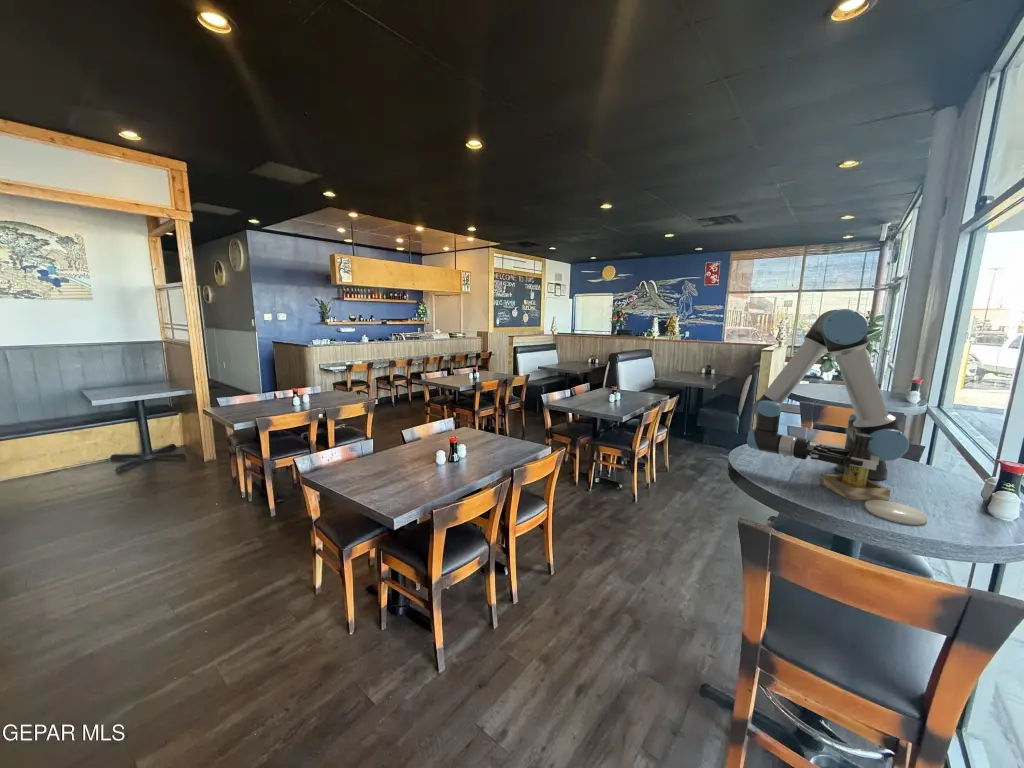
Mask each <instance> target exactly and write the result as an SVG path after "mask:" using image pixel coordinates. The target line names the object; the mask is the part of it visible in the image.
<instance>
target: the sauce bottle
mask: <svg viewBox="0 0 1024 768" xmlns="http://www.w3.org/2000/svg"><path fill="white" fill-rule="evenodd" d="M870 440H871V436H870V435H867V434H862V433H856V434H855V443H854V446H853V447H852V449H851V450H850V452H849V454H848V455H847V457H850V458H851V457H855V458H860V459H865V460H871V454H870V453H869V450H868V448H869V447H868V446H869V441H870ZM868 471H869V469H867V468H862V467H857V466H852V465H850V466H849V467H846V466H845V468H844V473H842V475H843V479H842V483H843V484H845V485H847V486H849V487H851V488H865V486H866V481H867V476H868Z"/></svg>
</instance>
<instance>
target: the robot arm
mask: <svg viewBox="0 0 1024 768" xmlns="http://www.w3.org/2000/svg"><path fill="white" fill-rule="evenodd" d="M868 328H869V324H868V321H867V319H866V317H865V316H864V315H863V314H862V313H861V312H858V311H857V310H854V309H851V308H850V309H848V308H841V309H832V310H828V311H825V312H824V313H822V314H820V316H818V318H817V319H816V320H815V321H814V323H813V324H812V326H811V327H810V329H809V330H808V331H807V333H806V334H805V336H803V343H802V344H801V345H800V347H799V348H798V349H797V350H796V352H795V353H794V354H793V356H792V357H791V358H790V359H789V360H788V362H787V363H786V365H785V366H784V367H783V368H782V370H781V371H780V372H779V374H778V375H777V376H776V378H775V379H774V380H773V381H772V383H771V384H770V385H769V387H768V388H766V390H765V391H764V393H763V395H762V396H761V397H760V398H759V399H757V400H756V401H754V403H753V406H752V411H753V414H754V415H755V417H756V418H755V419H756V422H755V428H754V429H750V430H749V431H748V433H747V438H746V443H747V446H748V447H749V448H750V449H754V450H756V451H760V452H767V453H771V454H772V453H773V454H777V455H782V456H783V457H790V458H792V457H794V458H795V459H800V460H806V459H808V457H810V459H811V460H815V461H822V462H825V463H830V464H835V469H836V470H838V471H839V472H840V473H842V474H844V468H845V466H846V467H849V466H850V465H852V466H857V467H862V468H867V469H869V471H868V476H867V479H868V480H871V481H874V480H876V481H879V480H880V481H881V480H886V479H887V478H888V475H889V471H888V468H887V463H886V462H889V461H896V460H899V459H900V458H902V457H903V456H904V455H905V454H906V453H907V452H908V450H909V448H910V442H909V439H908V438H907V436H906V434H904V433H903V432H902V431H901V429H900V426H899V423H898V420H897V418H896V416H895V415H892V414H890V413H889V412H888V410H887V409H888V408H887V407H886V406H887V405H886V404H885V400H884V397H883V395H882V391H881V389H880V386H879V384H878V380H877V378H876V375H875V372H874V369H873V366H872V363H871V359H870V356H869V355H868V351H867V349H866V348H867V346H868V344H870V340H869V337H868V334H867V333H868V330H869V329H868ZM825 352H827V353H829V354H831V355H833V356H835V360H836V362H837V365H838V368H839V371H840V374H841V376H842V377H841V378H842V380H843V382H844V386H845V389H846V392H847V394H848V398H849V400H850V403H851V406H852V410H853V412H854V413H851V414H850V415H849V418H848V419H847V430H846V434H845V435H846V436H845V442H844V444H845V445H844V448H841V447H836V446H830V445H825V444H821V443H820V444H815V445H811V444H810V443H811V441H810V439H808V438H803V437H795V436H792V435H786V434H780V433H779V428H780V427H779V426H780V419H781V414H782V410H781V409H782V404H783V403H784V402H785V401H786V400H787V398H788V397H789V396H790V394H791V393H792V392H794V390H795V389H796V387H797V386H798V385H799V384H800V382H801V381H802V380H803V379H804V377H806V375H807V374H808V373H809V371H810V370H811V369H812V368H813V366H815V364H816V363H817V362H818V361H819V359H820V358H821V356H822V355H823V354H824V353H825ZM856 433H862V434H867V435H870V436H871V440H870V441H869V446H868V447H869V448H868V450H869V453H870V454H871V460H865V459H860V458H855V457H851V458H850V457H847V455H848V454H849V452H850V450H851V449H852V447H853V446H854V443H855V434H856Z"/></svg>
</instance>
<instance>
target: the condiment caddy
mask: <svg viewBox="0 0 1024 768" xmlns="http://www.w3.org/2000/svg"><path fill="white" fill-rule="evenodd" d="M842 479H843V474H833V473H832V474H831V473H830V474H825V473H823V474H821V476H820V481H819V482H820V485H822V486H824V487H826V488H827V489H830V490H831V491H833V492H834V493H835V494H836V493H837V494H838V495H839V496H842V497H843V498H845V499H847V500H851V501H852V500H856V501H858V500H860V501H861V500H862V501H863V500H865V501H868V500H884V501H890V496H891V489H889V488H886V487H885V486H883V485H880V484H879V483H876V482H874V481H873V480H871V479H867V481H866V486H865V488H851V487H849V486H847V485H845V484H843V483H842Z"/></svg>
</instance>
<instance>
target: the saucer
mask: <svg viewBox="0 0 1024 768" xmlns="http://www.w3.org/2000/svg"><path fill="white" fill-rule="evenodd" d="M864 508H865V510H866V511H868V512H869V513H870V514H872V515H874V516H876V517H878V518H881V519H884V520H887V521H889V522H890V521H891V522H894V523H898V524H902V525H903V524H904V525H910V526H923V525H926V524H927V522H928V516H927V514H925V513H924V512H922V511H921V510H919V509H917V508H914V507H912V506H909V505H906V504H902V503H898V502H894V501H890V500H865V503H864Z"/></svg>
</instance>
